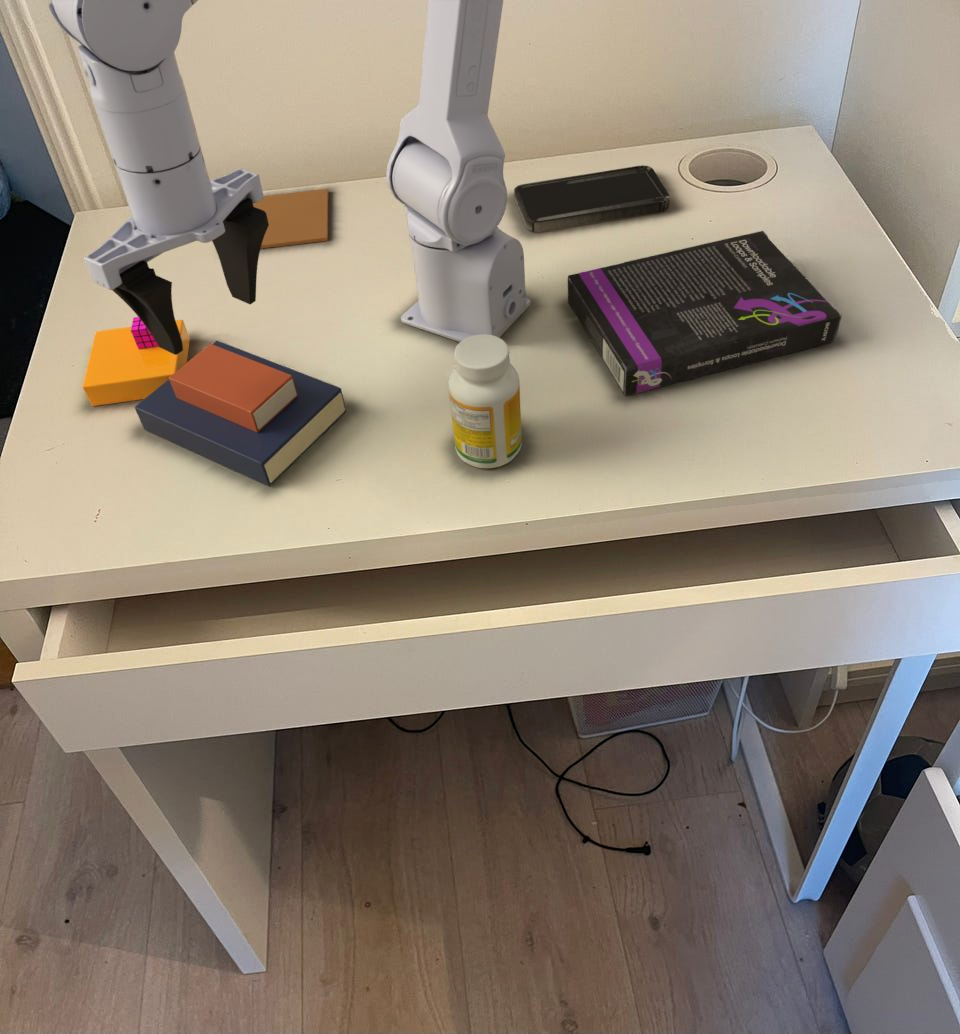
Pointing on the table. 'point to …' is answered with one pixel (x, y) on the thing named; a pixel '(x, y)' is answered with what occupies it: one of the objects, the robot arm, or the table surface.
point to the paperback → (234, 387)
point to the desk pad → (295, 218)
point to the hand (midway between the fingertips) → (208, 323)
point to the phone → (590, 198)
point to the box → (699, 311)
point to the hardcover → (242, 446)
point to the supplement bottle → (485, 402)
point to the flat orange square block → (130, 364)
